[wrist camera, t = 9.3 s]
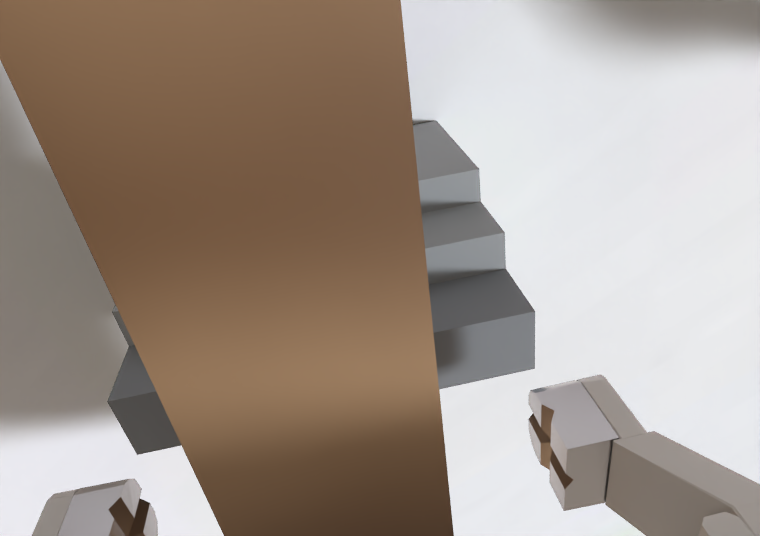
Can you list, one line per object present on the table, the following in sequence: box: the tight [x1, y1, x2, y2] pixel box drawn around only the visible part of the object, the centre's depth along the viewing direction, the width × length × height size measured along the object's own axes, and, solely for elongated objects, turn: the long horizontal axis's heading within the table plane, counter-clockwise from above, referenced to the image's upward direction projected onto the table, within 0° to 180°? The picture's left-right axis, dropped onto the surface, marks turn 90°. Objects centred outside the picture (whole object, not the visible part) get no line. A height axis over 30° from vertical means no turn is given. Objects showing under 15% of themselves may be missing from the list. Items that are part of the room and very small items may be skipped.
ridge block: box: [107, 121, 535, 455], centre depth 17 cm, size 6×10×9 cm, turn 98°
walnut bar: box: [0, 0, 454, 536], centre depth 11 cm, size 18×4×4 cm, turn 7°
